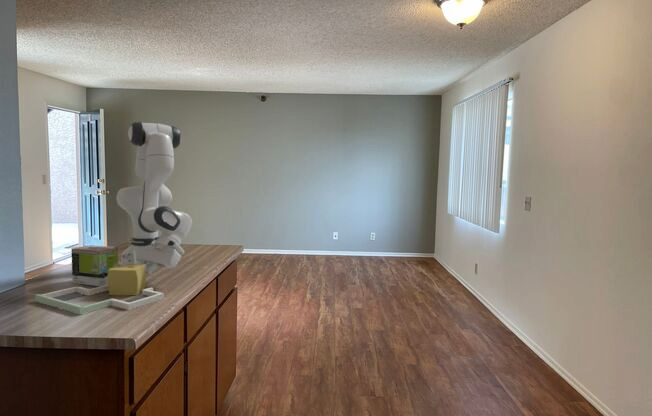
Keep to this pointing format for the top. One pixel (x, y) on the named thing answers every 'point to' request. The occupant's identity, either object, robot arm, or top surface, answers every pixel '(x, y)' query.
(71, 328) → the top surface
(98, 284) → the tea box
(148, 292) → the frame
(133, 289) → the cheese
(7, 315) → the top surface
